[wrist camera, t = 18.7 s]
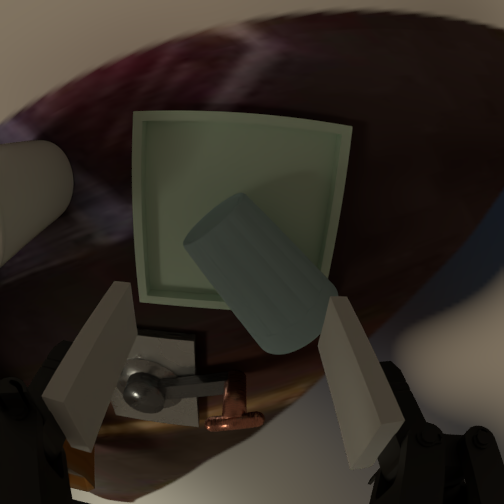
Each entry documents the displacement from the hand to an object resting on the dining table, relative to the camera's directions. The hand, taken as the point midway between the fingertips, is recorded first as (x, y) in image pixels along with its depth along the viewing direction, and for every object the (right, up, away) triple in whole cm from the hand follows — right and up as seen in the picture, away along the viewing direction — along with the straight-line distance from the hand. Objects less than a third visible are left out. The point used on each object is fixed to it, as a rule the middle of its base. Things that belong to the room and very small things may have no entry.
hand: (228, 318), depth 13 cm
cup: (-2, +6, +13) cm, 14 cm away
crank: (-6, -12, +21) cm, 25 cm away
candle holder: (-20, +10, +12) cm, 25 cm away
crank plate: (-12, -13, +22) cm, 28 cm away
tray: (0, +6, +14) cm, 15 cm away
